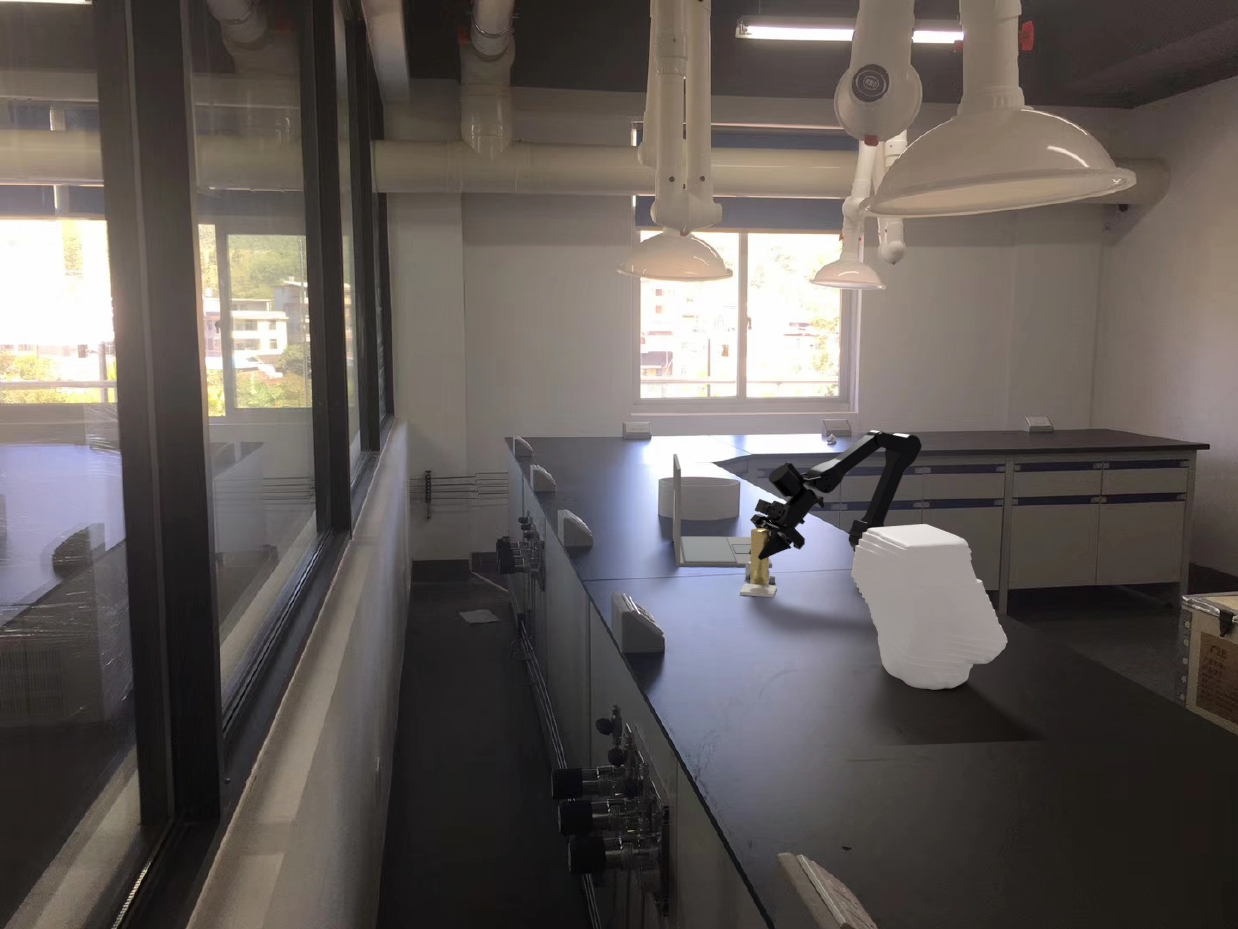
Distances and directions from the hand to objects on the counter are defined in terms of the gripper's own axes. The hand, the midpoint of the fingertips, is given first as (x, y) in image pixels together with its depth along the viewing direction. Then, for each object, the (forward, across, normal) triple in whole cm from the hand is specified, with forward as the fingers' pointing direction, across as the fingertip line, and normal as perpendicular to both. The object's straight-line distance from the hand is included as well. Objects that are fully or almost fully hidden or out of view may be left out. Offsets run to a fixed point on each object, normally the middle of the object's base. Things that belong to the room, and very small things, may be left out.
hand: (754, 556), depth 225 cm
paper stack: (+5, +61, +8) cm, 62 cm away
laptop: (0, -43, +14) cm, 45 cm away
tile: (+5, 0, +7) cm, 9 cm away
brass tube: (+4, 0, +6) cm, 7 cm away
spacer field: (+3, -8, +10) cm, 13 cm away
